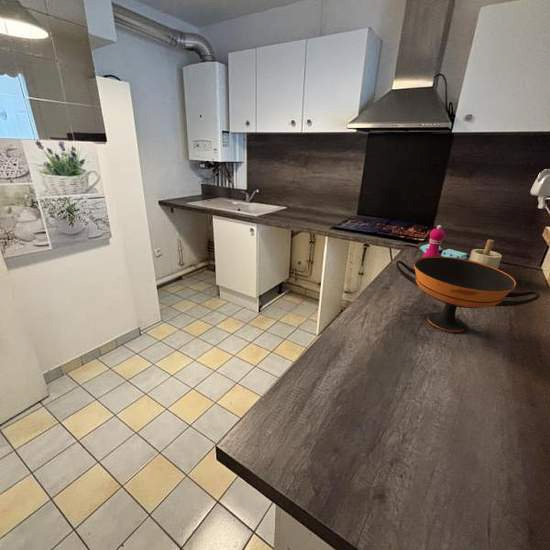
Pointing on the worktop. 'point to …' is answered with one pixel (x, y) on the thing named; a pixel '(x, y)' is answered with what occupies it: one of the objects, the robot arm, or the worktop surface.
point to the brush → (488, 247)
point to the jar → (486, 257)
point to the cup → (462, 287)
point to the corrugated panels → (447, 252)
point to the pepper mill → (435, 242)
